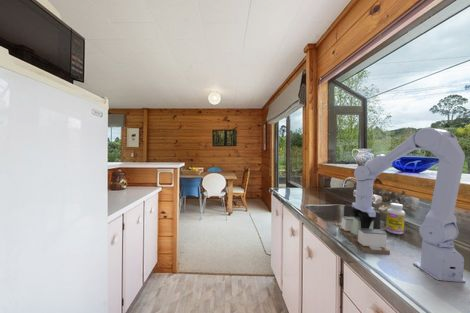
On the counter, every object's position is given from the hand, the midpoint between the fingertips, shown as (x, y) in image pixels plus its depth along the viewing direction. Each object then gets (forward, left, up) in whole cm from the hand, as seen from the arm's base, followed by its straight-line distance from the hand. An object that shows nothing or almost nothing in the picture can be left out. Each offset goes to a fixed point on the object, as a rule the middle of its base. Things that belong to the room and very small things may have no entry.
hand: (361, 229), depth 90 cm
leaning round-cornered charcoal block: (+17, -8, -5) cm, 19 cm away
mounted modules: (0, 0, -3) cm, 3 cm away
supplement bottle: (+13, -21, -5) cm, 26 cm away
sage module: (0, 0, -2) cm, 2 cm away
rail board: (0, 0, -5) cm, 5 cm away
